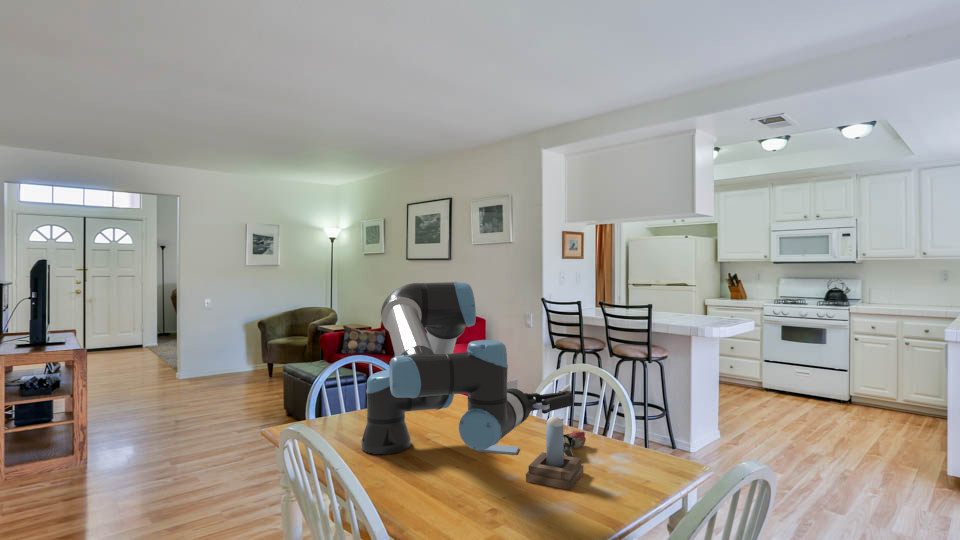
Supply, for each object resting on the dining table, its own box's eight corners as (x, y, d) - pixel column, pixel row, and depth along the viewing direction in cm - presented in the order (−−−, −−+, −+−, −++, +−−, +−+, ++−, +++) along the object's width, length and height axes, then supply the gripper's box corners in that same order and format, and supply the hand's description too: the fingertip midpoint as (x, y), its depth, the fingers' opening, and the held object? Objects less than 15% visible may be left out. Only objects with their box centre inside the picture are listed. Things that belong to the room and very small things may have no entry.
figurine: (588, 445, 160) (588, 424, 159) (571, 465, 144) (570, 441, 144) (566, 442, 163) (566, 421, 163) (548, 461, 147) (547, 437, 147)
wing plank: (477, 453, 155) (477, 449, 155) (481, 447, 160) (481, 443, 160) (516, 456, 152) (516, 452, 152) (518, 450, 157) (518, 446, 157)
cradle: (525, 481, 133) (525, 466, 133) (541, 465, 143) (541, 451, 143) (570, 490, 127) (570, 474, 127) (583, 472, 138) (583, 457, 138)
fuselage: (544, 471, 134) (543, 417, 134) (549, 465, 138) (549, 413, 138) (560, 474, 132) (560, 419, 132) (565, 468, 136) (565, 415, 136)
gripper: (455, 419, 112) (495, 396, 131) (565, 437, 101) (592, 408, 120) (455, 385, 112) (495, 367, 131) (565, 399, 101) (592, 377, 120)
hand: (541, 387), depth 125 cm, fingers open, 13 cm apart
